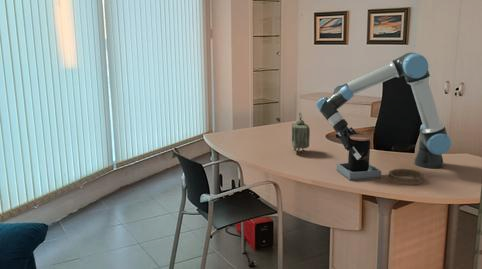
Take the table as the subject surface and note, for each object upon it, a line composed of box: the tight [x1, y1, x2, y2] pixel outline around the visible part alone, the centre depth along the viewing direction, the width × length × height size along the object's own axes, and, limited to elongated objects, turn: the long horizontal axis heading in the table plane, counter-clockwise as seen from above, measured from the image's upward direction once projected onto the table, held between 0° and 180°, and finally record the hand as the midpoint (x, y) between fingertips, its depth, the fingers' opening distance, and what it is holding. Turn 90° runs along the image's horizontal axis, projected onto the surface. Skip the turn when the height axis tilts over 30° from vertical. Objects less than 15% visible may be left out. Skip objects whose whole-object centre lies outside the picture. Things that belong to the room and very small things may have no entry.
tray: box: [336, 162, 382, 182], centre depth 251 cm, size 17×17×4 cm
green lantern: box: [291, 111, 311, 155], centre depth 292 cm, size 14×9×25 cm, turn 1°
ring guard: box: [388, 168, 424, 186], centre depth 243 cm, size 16×16×3 cm
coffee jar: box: [347, 133, 371, 172], centre depth 249 cm, size 11×11×18 cm
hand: (364, 155), depth 248 cm, fingers closed on coffee jar, 11 cm apart
